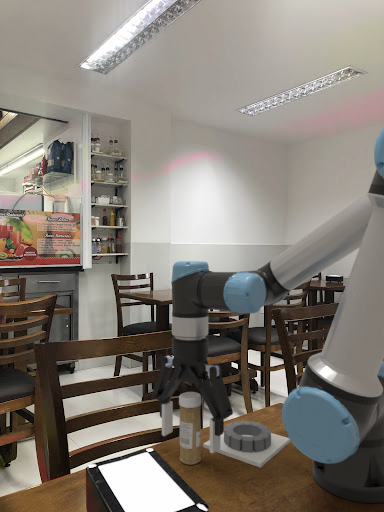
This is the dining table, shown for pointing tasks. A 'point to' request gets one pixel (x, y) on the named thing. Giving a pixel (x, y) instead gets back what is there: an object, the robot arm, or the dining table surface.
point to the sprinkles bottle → (190, 428)
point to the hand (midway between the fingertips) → (190, 441)
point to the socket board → (253, 456)
